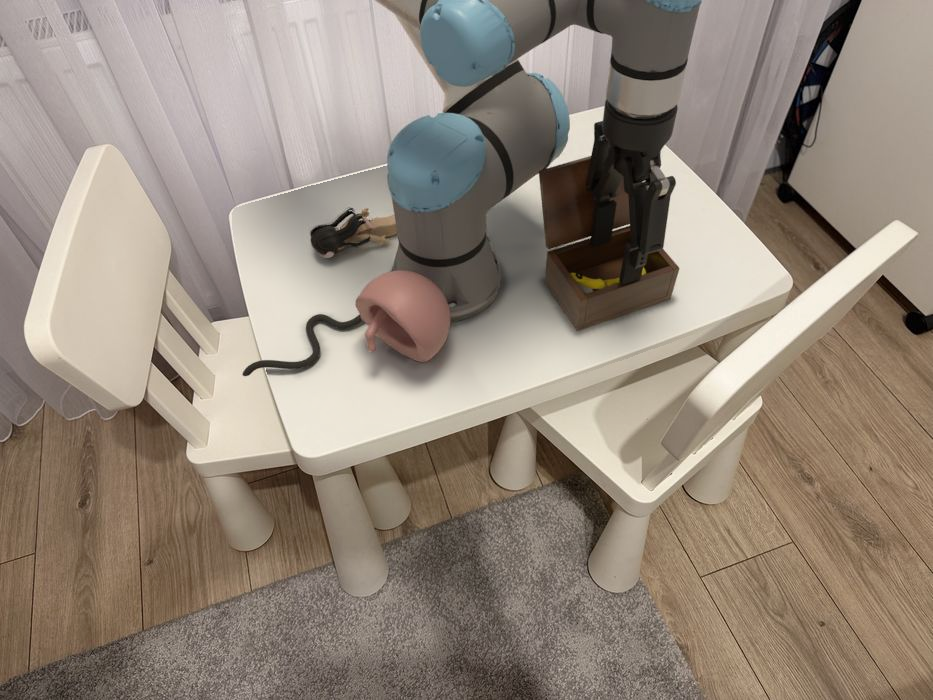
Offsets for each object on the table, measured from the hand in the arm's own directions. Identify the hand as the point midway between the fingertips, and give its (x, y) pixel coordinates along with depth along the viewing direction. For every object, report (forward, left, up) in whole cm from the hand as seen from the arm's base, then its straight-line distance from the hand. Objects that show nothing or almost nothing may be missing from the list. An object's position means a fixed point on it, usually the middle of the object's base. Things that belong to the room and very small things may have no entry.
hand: (614, 260), depth 89 cm
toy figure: (-11, +36, -6) cm, 38 cm away
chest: (0, 0, -6) cm, 6 cm away
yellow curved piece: (0, 0, -5) cm, 5 cm away
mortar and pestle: (-18, +14, +2) cm, 23 cm away
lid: (+3, +6, +6) cm, 9 cm away
